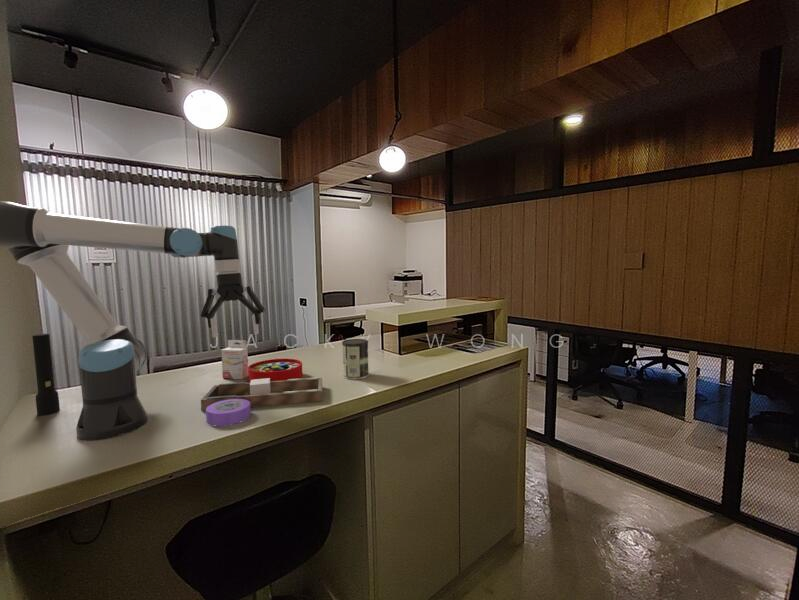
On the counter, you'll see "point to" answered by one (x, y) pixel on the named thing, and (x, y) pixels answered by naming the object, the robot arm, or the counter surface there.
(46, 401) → the flashlight
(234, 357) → the ink cartridge box
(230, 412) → the masking tape
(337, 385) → the counter surface
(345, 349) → the coffee can
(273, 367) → the toy clock
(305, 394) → the wooden tray
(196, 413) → the counter surface
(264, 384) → the white cube
